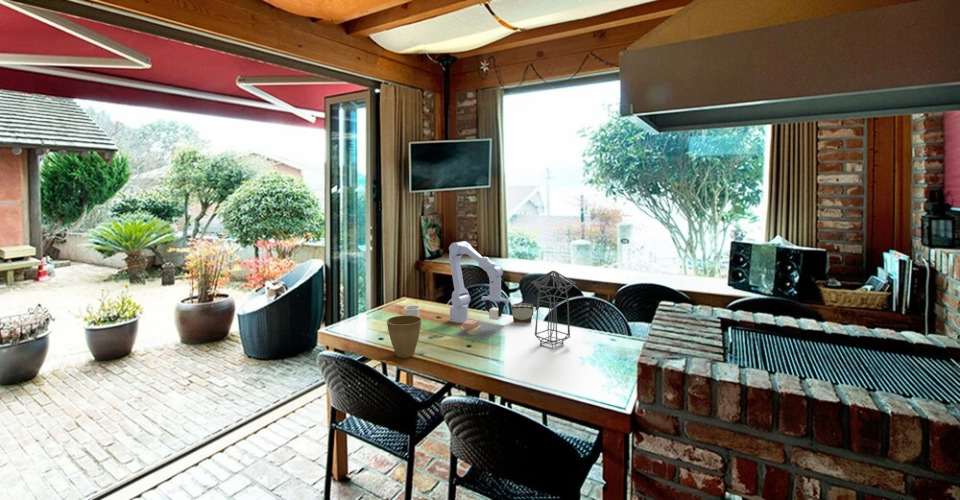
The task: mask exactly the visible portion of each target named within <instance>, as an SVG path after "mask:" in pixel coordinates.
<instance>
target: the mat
mask: <svg viewBox="0 0 960 500" xmlns="http://www.w3.org/2000/svg"><path fill="white" fill-rule="evenodd" d="M479 325H481V326H482V331H480V332H479V333H477V334H476V335H471V334H464V333H460V330H459V331H457V332H455V333H453V334H452V335H453V336H459V337H465V338H472V339H477V340H483V341H487V340H489V339H490V338H491V337H492V336H493V335H495V334H496V333H498V332H499V331H501V329H504V327H505V325H503V324H495V323H487V322H482V321H479Z"/></svg>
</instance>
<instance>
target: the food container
mask: <svg viewBox="0 0 960 500" xmlns="http://www.w3.org/2000/svg"><path fill="white" fill-rule="evenodd" d="M534 308H535V307H534V305H533V304H532V303H527V302H520V303H513V304H512V305H511V307H510V310H511V311H512V322H513V323H526V324H528V323H529V324H531V323H532V319H533V310H535V309H534Z"/></svg>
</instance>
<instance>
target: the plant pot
mask: <svg viewBox="0 0 960 500" xmlns="http://www.w3.org/2000/svg"><path fill="white" fill-rule="evenodd" d="M421 325H422V318H421V317H420V316H419V317H417V316H411V315H396V316H392V317H390V318H388V319H386V327H387V331H388V334H389V339H390V341H391V346H392V348H393V351H394V353H395V355H396V357H397V358H401V359H408V358H411V357H413V356H414V355H415V351H416V349H417V347H418V346H417V345H418V341H419V338H420V332H421Z"/></svg>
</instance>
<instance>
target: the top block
mask: <svg viewBox="0 0 960 500" xmlns="http://www.w3.org/2000/svg"><path fill="white" fill-rule="evenodd" d="M498 312H499V310H498V307H495V306H494V307H493V306H492V308H491V309H489V312H488V317H489V320H494V321H498V320H500V319H501V318H502V315H501V316H500V317H499V315H498Z"/></svg>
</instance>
